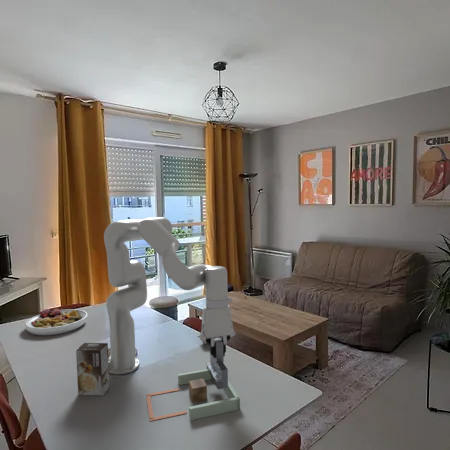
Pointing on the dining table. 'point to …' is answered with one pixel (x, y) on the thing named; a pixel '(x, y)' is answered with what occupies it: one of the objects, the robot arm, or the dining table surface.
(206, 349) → the dining table surface
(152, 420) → the terracotta bay outline
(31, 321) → the plate of food
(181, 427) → the dining table surface
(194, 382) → the walnut block
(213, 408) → the sage pen
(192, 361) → the dining table surface
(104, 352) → the coffee box
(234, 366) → the dining table surface
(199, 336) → the game die
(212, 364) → the rake
